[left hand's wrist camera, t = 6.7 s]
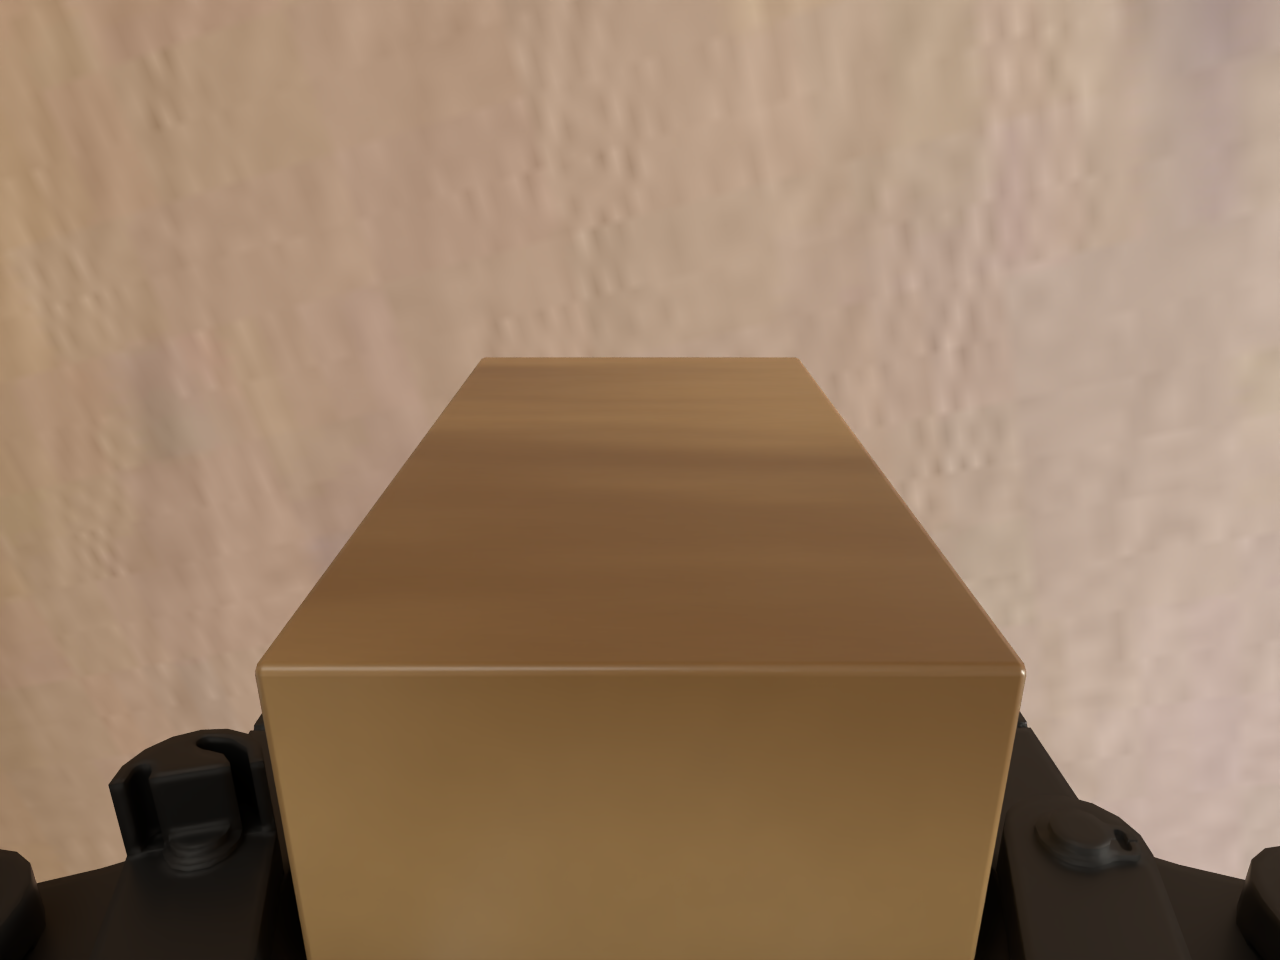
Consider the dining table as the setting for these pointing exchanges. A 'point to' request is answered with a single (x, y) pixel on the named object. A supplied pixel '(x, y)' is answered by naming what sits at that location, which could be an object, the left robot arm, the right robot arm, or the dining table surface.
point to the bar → (640, 687)
